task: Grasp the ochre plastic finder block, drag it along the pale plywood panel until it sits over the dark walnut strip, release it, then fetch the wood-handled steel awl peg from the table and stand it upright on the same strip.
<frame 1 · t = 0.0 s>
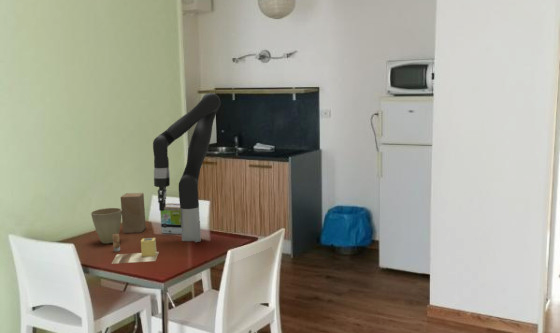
hand: (162, 208, 276), 17 cm above the table, tool pointing down, fingers open, 8 cm apart
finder: (149, 254, 254), point 1 cm above the table, touching panel
plant pot: (108, 242, 283), on the table
tea box: (178, 232, 299), on the table
panel: (136, 260, 251), on the table
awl: (117, 253, 262), on the table
wooden block: (134, 231, 304), on the table
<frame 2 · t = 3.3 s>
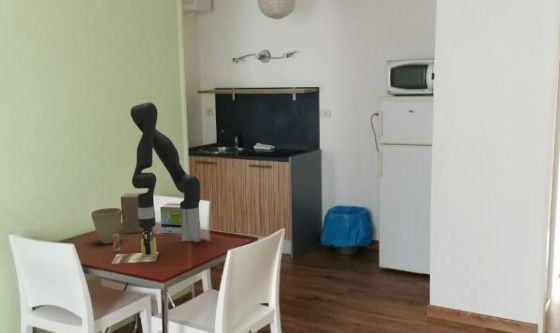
hand: (149, 252, 254), 2 cm above the table, tool pointing down, fingers closed on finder, 5 cm apart
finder: (149, 254, 254), point 1 cm above the table, touching gripper, panel
everything else where it was.
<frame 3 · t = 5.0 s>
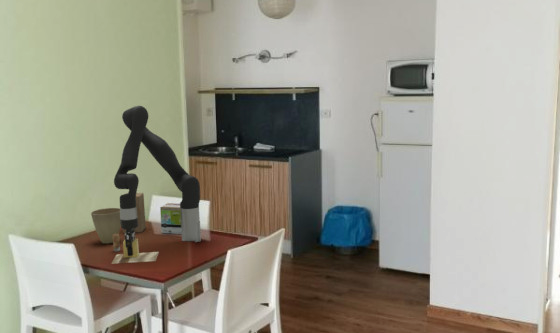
hand: (131, 253, 253), 2 cm above the table, tool pointing down, fingers closed on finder, 5 cm apart
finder: (131, 255, 253), point 1 cm above the table, touching gripper
everything else where it was.
when the fingers open (2 cm above the table, at t = 6.8 s): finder stays where it is, resting on panel.
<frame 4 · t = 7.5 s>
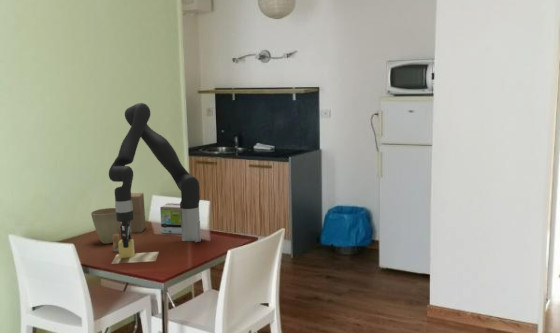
hand: (127, 244, 252), 6 cm above the table, tool pointing down, fingers open, 8 cm apart
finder: (127, 255, 253), point 1 cm above the table, touching panel
everything else where it was.
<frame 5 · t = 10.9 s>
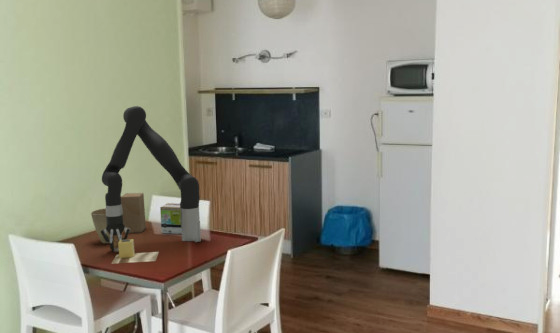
hand: (117, 249, 262), 2 cm above the table, tool pointing down, fingers closed on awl, 3 cm apart
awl: (117, 253, 262), on the table, touching gripper
everything else where it was.
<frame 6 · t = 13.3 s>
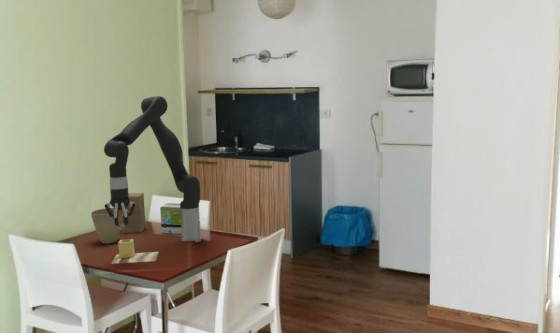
hand: (121, 225, 245), 17 cm above the table, tool pointing down, fingers closed on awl, 3 cm apart
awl: (122, 229, 245), point 15 cm above the table, touching gripper
everything else where it was.
when the fingers open (4 cm above the table, at t = 15.9 s): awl drops 1 cm, resting on panel.
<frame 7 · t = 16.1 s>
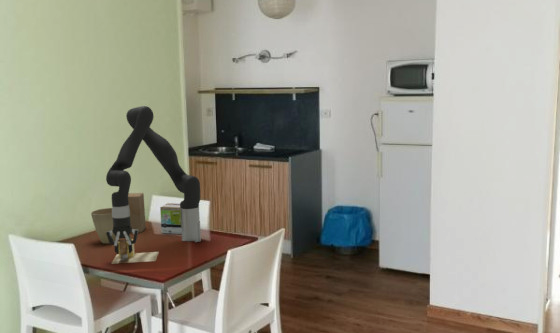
hand: (123, 252, 247), 5 cm above the table, tool pointing down, fingers open, 4 cm apart
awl: (124, 260, 247), point 1 cm above the table, touching panel
everything else where it was.
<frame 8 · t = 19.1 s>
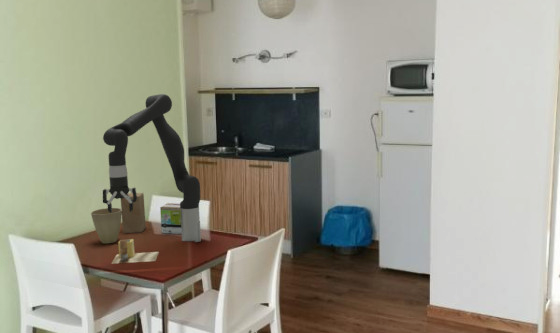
hand: (120, 211, 244), 23 cm above the table, tool pointing down, fingers open, 8 cm apart
nothing on the table moved.
at the end: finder inside the target area (0.2 cm from its centre), point 1.2 cm above the table; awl 0.5 cm from the target spot, point 1.2 cm above the table; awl tilted 0° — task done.
